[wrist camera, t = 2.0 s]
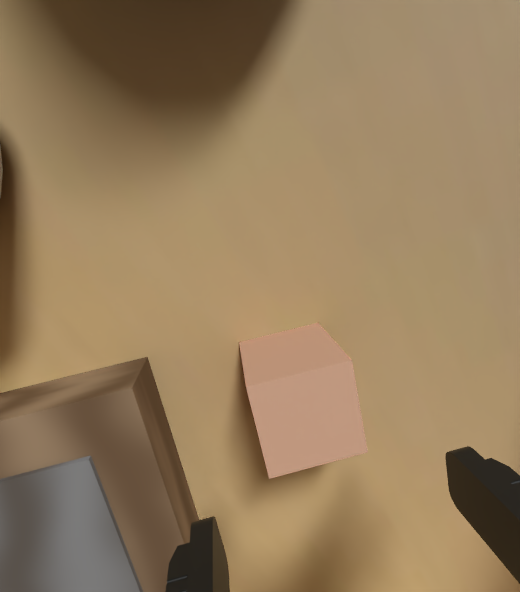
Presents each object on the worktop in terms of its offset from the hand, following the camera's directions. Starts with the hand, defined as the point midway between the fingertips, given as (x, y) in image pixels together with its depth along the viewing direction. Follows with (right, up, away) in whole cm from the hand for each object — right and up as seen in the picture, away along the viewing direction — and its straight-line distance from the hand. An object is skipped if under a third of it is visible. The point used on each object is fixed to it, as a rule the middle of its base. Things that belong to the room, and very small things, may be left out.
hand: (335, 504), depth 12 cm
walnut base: (-15, -6, +11) cm, 20 cm away
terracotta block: (-1, +2, +11) cm, 11 cm away
